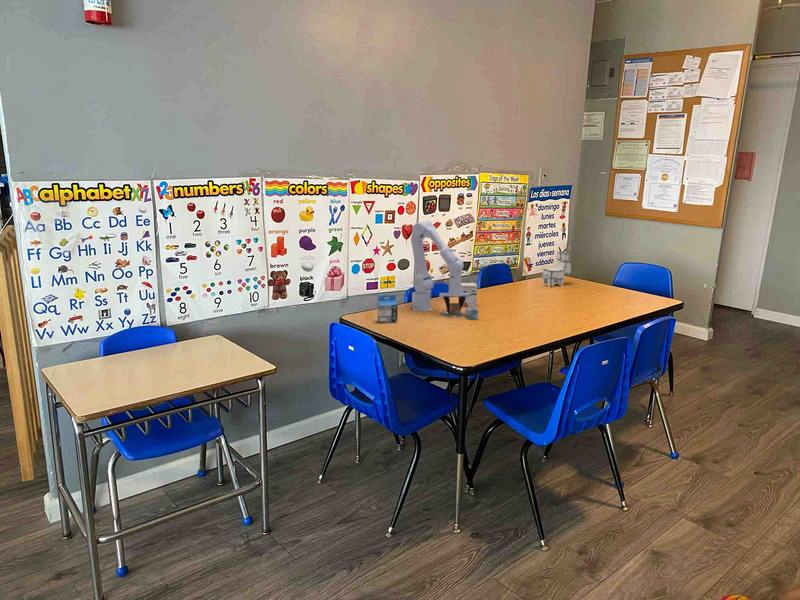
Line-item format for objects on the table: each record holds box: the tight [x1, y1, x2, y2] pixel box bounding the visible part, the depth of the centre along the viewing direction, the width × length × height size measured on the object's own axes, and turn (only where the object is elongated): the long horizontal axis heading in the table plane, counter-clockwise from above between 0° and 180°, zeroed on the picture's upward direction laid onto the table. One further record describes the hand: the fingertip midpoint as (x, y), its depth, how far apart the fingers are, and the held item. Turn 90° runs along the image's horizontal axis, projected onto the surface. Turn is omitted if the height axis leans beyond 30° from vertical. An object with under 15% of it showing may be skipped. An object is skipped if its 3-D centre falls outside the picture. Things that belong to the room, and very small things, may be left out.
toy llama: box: [541, 250, 573, 286], centre depth 361 cm, size 8×18×20 cm, turn 117°
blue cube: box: [464, 306, 479, 321], centre depth 286 cm, size 5×5×5 cm
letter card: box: [441, 311, 466, 318], centre depth 293 cm, size 10×10×1 cm
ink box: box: [457, 282, 478, 308], centre depth 308 cm, size 8×5×12 cm, turn 99°
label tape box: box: [377, 294, 399, 323], centre depth 277 cm, size 9×4×12 cm, turn 105°
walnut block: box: [448, 302, 461, 316], centre depth 292 cm, size 5×5×5 cm
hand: (453, 311), depth 292 cm, fingers closed on walnut block, 5 cm apart
